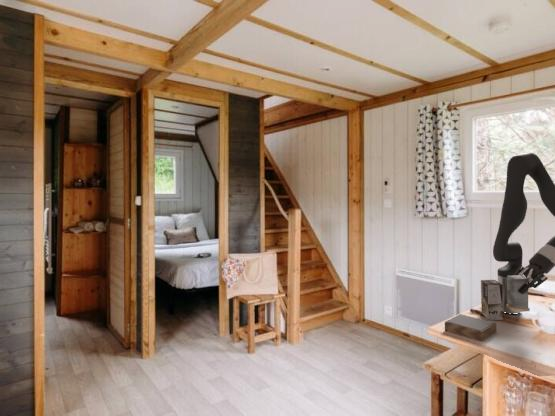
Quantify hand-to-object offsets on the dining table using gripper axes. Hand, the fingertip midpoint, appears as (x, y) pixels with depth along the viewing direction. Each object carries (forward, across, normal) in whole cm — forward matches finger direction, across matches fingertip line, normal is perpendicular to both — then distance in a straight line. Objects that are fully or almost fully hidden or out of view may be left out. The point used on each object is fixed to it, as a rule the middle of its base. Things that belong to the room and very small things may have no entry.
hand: (515, 290), depth 146 cm
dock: (+24, -7, +3) cm, 25 cm away
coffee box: (+12, -22, +16) cm, 30 cm away
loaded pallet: (+5, 0, +6) cm, 8 cm away
